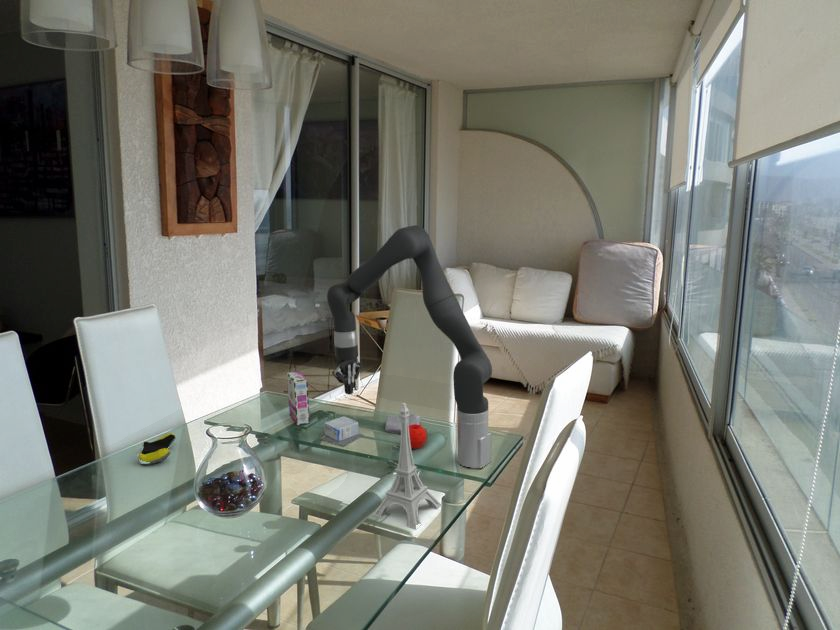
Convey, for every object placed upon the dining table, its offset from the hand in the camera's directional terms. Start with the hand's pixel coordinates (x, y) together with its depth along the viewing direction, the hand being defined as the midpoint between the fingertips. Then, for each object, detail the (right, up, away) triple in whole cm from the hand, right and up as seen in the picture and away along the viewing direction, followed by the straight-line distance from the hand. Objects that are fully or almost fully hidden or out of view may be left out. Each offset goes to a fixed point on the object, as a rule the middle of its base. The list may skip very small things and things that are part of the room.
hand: (349, 393), depth 217 cm
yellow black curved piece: (-59, -19, -11) cm, 63 cm away
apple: (+22, -16, -8) cm, 28 cm away
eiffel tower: (+20, -26, -45) cm, 56 cm away
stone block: (+18, -13, +6) cm, 23 cm away
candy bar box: (-19, -11, +16) cm, 28 cm away
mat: (-2, -15, 0) cm, 15 cm away
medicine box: (+1, -11, +4) cm, 12 cm away
